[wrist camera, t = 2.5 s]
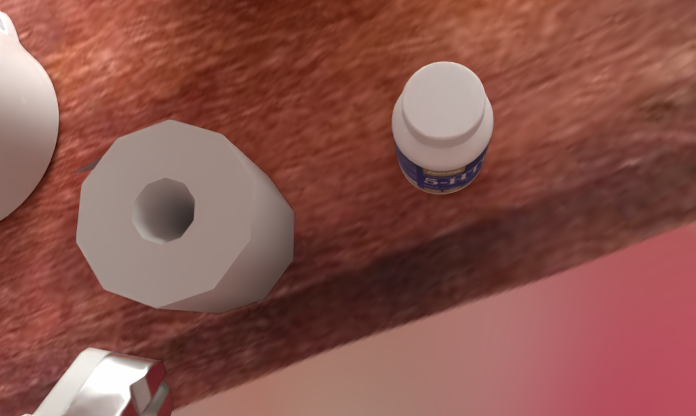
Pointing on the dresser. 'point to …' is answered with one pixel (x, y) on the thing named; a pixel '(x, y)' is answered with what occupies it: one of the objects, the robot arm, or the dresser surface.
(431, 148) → the pill bottle
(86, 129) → the dresser surface
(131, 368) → the robot arm
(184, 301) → the toilet tissue
